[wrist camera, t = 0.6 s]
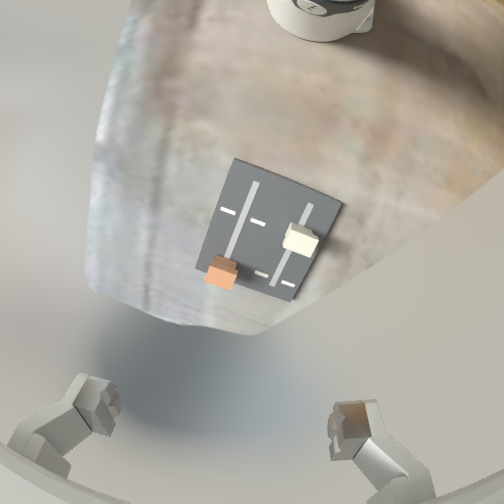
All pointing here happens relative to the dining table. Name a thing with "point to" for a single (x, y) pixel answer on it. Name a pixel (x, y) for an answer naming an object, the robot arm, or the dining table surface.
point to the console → (265, 228)
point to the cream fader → (300, 239)
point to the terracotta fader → (222, 272)
